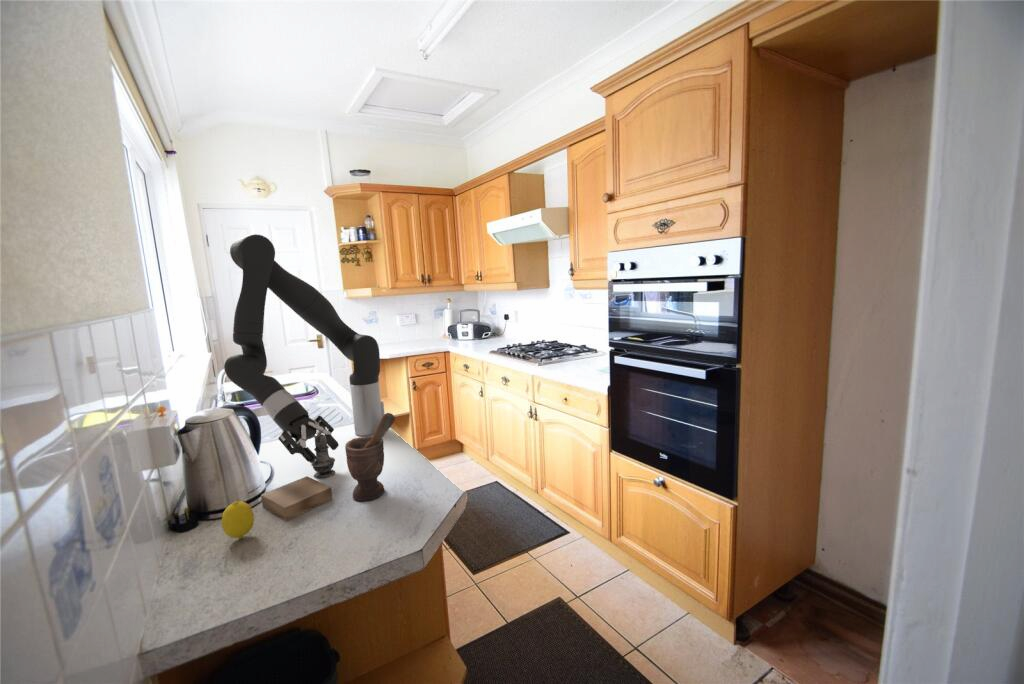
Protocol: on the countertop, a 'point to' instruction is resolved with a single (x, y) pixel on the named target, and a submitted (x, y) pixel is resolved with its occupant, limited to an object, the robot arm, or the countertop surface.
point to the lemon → (237, 519)
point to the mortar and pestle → (368, 461)
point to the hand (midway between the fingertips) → (325, 454)
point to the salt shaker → (322, 458)
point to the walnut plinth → (296, 497)
